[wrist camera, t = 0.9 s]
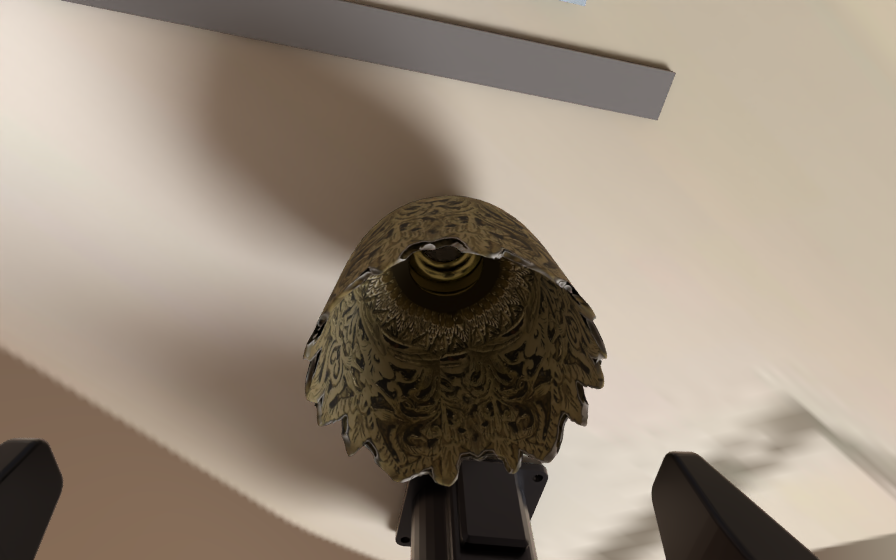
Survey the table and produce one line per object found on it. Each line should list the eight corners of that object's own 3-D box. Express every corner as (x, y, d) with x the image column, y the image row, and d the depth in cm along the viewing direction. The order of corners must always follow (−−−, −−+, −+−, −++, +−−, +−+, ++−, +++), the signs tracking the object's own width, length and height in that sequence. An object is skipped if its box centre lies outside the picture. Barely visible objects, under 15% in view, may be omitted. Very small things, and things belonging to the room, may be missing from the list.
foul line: (654, 117, 18) (657, 120, 18) (-82, -31, 15) (-91, -31, 15) (672, 71, 18) (675, 72, 17) (-98, -95, 15) (-107, -96, 14)
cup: (364, 335, 22) (340, 505, 15) (319, 160, 19) (260, 281, 12) (548, 311, 22) (606, 471, 15) (540, 128, 18) (612, 233, 12)
